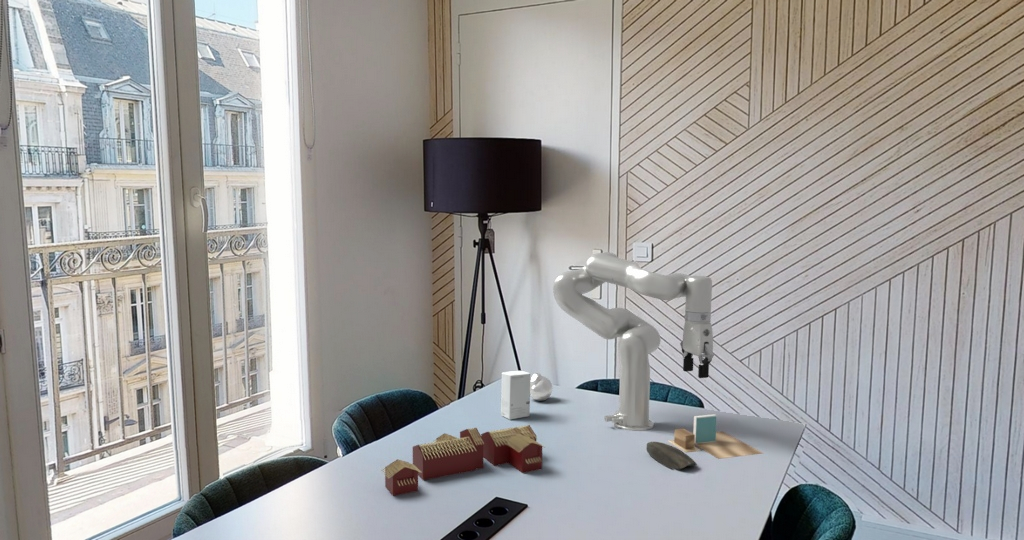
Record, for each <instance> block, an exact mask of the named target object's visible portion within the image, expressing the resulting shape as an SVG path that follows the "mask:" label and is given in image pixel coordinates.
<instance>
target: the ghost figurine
mask: <svg viewBox="0 0 1024 540" xmlns="http://www.w3.org/2000/svg"><path fill="white" fill-rule="evenodd" d="M553 389H554V387H553V384H552V381H551V380H550V379H549V378H548V377H546V376H544V375H542V374H541V373H540V372H538V373H536V372H535V373H533V374H532V375H530V398H532V399H534V400H535V401H537V402H538V401H539V402H542V401H545V400H547V399H549V398H550V397H551V395H552V394H553Z"/></svg>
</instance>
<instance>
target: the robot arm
mask: <svg viewBox="0 0 1024 540" xmlns="http://www.w3.org/2000/svg"><path fill="white" fill-rule="evenodd" d="M605 283H609V284H612V285H614V286H615V285H616V286H620V287H623V288H626V289H629V290H630V291H633V292H635V293H638V294H640V295H643V296H646V297H649V298H653V299H656V300H657V299H658V300H662V301H673V300H676V299H680V298H684V297H685V301H684V302H685V306H684V307H685V308H684V325H683V332H682V333H683V334H682V341H680V343H679V344H680V348H681V353H682V358H683V366H682V367H683V368H682V371H684V372H692V371H694V358H693V356H697V357H698V361H699V364H698V371H697V373H698V374H697V377H698V378H699V379H707V378H709V375H710V374H709V371H710V370H709V369H710V365H711V362H712V359H713V358H714V356H715V352H714V337H713V336H714V333H713V327H712V323H711V320H712V319H711V318H712V295H713V293H712V292H713V280H712V278H711V277H709V276H705V275H691V274H690V275H689V274H685V273H678V272H674V273H670V274H666V275H665V274H661V273H656V272H652V271H649V270H646V269H643V268H642V267H640V266H639V263H637V262H636V261H633V260H630V259H629V260H628V259H625V258H620V257H619V256H617V255H616V254H615V253H613V252H610V251H609V252H608V251H606V252H604V251H603V252H598V253H594V254H592V255H590V256H589V257H588V258H587V259H586V262H585V265H584V266H582V267H581V268H579V269H578V268H577V269H573V270H568V271H565V272H562V273H560V274H559V275H558V276H557V277H556V278H555V279H554V282H553V287H552V292H553V296H554V299H555V302H556V304H557V305H558V307H560V309H561V310H562V311H563V312H564V313H566V314H567V315H568V316H570V317H572V318H573V319H575V320H577V322H579V323H580V324H582V325H583V326H584V327H586V328H587V329H589V330H591V331H592V332H593V333H595V334H596V335H597V336H600V337H601V338H602V339H605V340H610V341H611V340H614V339H617V338H619V340H618V343H617V351H618V359H619V392H618V393H619V394H618V395H619V397H618V399H619V400H618V402H619V403H618V410H616V411H615V413H613V415H612V414H609V415H606V414H605V416H604V421H605V422H606V423H607V422H611V423H612V424H613V425H614V428H618V429H621V430H625V431H632V432H641V431H648V430H651V429H653V428H654V426H655V425H654V422H653V421H652V420H650V389H651V388H650V387H651V367H650V359H649V355H650V354H651V353H653V352H655V351H656V350H658V349H659V347H660V344H661V336H660V333H659V331H658V330H657V329H656V328H655V327H654V326H653V325H652V324H650V323H649V322H647V321H646V320H644V319H642V318H641V317H640V316H638V315H636V314H634V312H632V311H630V310H628V309H626V308H623V307H613V308H607V307H605V306H603V305H601V304H599V303H598V302H597V301H596V300H594V299H592V298H590V297H587V296H585V295H584V294H588V293H589V292H591V291H593V290H595V289H596V288H598V287H599V286H601V285H603V284H605Z"/></svg>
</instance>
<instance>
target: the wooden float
mask: <svg viewBox="0 0 1024 540" xmlns="http://www.w3.org/2000/svg"><path fill="white" fill-rule="evenodd" d="M673 436H674V438H673V439H670V440H668V442H669V443H671V444H672V446H673V445H674V446H675V447H676V448H677V449H679V450H681V451H682V452H684V453H692V452H693V453H694V452H700V451H702V449H701V448H699V447H698V446H697V447H696V445H694V442H695V435H694V434H693V432H691V431H689V430H687V429H685V428H676V429H674V435H673Z"/></svg>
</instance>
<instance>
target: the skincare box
mask: <svg viewBox="0 0 1024 540" xmlns="http://www.w3.org/2000/svg"><path fill="white" fill-rule="evenodd" d="M530 377H531V373H530V372H527V371H524V370H513V371H512V370H510V371H504V372H501V386H500V387H501V390H500V391H501V392H500V394H501V395H500V397H501V399H500V415H501V417H504V418H505V419H507V420H509V421H510V420H516V419H521V418H526V417H530V414H531V413H530V412H531V411H530V410H531V409H530V408H531V404H530V403H531V395H530Z"/></svg>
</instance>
